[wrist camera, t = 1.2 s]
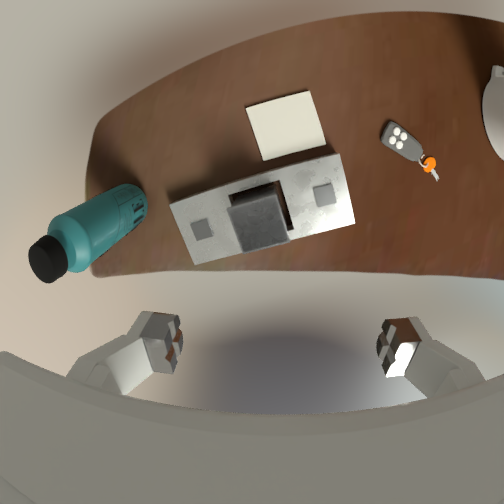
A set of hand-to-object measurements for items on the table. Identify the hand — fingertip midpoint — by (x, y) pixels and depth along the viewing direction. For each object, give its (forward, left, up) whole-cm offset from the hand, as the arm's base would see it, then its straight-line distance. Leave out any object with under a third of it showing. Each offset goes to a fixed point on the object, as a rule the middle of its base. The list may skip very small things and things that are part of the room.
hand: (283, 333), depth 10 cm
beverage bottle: (+20, -5, -27) cm, 34 cm away
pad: (-3, -8, -26) cm, 28 cm away
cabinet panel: (+3, +2, -26) cm, 27 cm away
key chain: (-20, 0, -27) cm, 34 cm away
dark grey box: (+3, +2, -26) cm, 27 cm away
